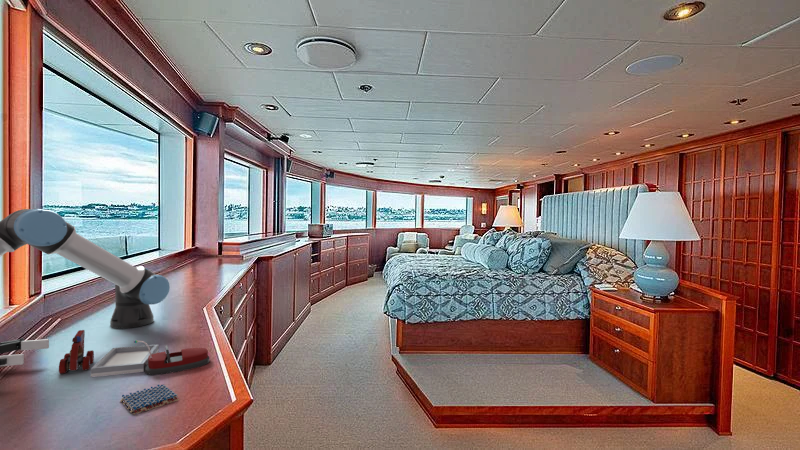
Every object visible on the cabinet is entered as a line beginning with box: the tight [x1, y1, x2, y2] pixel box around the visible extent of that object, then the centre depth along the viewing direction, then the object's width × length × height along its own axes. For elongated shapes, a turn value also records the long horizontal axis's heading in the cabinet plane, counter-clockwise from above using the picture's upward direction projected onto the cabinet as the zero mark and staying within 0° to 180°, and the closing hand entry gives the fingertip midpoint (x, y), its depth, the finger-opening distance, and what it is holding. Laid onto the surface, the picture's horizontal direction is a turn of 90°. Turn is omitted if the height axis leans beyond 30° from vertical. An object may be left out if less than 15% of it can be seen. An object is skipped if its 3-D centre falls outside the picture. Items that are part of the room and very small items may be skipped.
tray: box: [90, 344, 160, 378], centre depth 123 cm, size 18×13×2 cm
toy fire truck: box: [58, 329, 95, 374], centre depth 119 cm, size 7×12×10 cm, turn 29°
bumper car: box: [133, 339, 211, 376], centre depth 121 cm, size 10×20×10 cm, turn 124°
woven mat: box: [119, 384, 180, 415], centre depth 99 cm, size 10×11×2 cm
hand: (36, 351), depth 116 cm, fingers open, 13 cm apart
